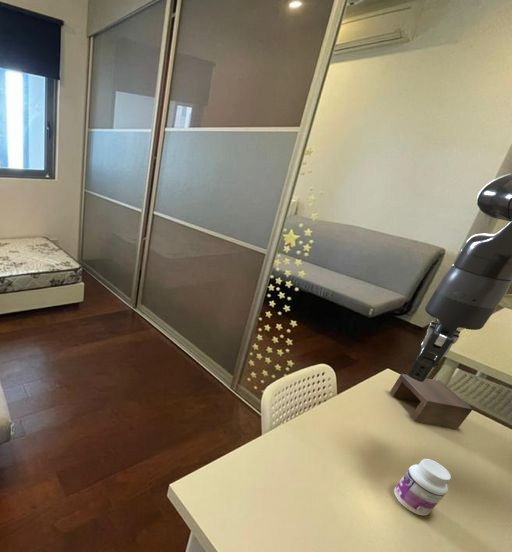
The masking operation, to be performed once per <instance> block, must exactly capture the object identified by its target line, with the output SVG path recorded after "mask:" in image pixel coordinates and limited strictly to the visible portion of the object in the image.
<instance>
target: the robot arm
mask: <svg viewBox="0 0 512 552" xmlns="http://www.w3.org/2000/svg"><path fill="white" fill-rule="evenodd" d="M476 206H477V207H478V209H479V211H480V212H481V213H483V215H486V216H488V217H491V218H493V219H497V220H501V221H505V222H509V223H508V224H507V225H505V227H503V228H502V229H501V230H499V231H497V232H496V233H478V234H473V235H472V236H470V237H469V238H468V239H467V240H466V242H465V243H464V245H463V246H462V247H461V250H460V252H459V253H458V255H457V257H456V258H455V260H454V262H453V264H452V265H451V267H450V268H449V269H448V270H447V271H446V272H445V273H444V275H443V277H442V278H441V280H440V281H439V283H438V284H437V287H436V288H435V290H434V291H433V293H432V295H431V296H430V299H429V300H428V301H427V303H426V305H425V307H424V311H425V312H426V313H427V314H428V315H429V316H430V317H432V318H435V319H437V320H436V321H433V320H431V322H430V324H429V325H428V327H427V329H426V331H425V334H424V338H423V339H422V341H421V343H420V345H419V347H420V350H419V351H418V353H417V355H416V357H415V362H414V363H413V365H412V367H411V368H410V370H409V372H408V374H407V375H408V376H409V377H411V378H413V379H415V380H417V381H419V382H423V381H424V380H425V378H427V377H428V375H429V374H430V372H431V371H432V369H436V367H438V366H439V363H440V362H441V360H442V358H444V357H446V356H447V355H448V353H449V351H450V350H451V348H452V346H453V345H455V344H456V343H457V342H458V340H459V338H460V334H461V330H458V329H466V330H471V331H477V330H481V329H483V328H484V326H485V325H486V323H487V322H488V321H489V319H490V318H491V316H492V315H493V313H494V312H495V311H496V309H497V307H498V306H499V305H500V303H501V302H502V301H503V299H504V297H505V296H506V295H507V293H508V290H509V289H510V286H511V284H512V173H508V174H505V175H502V176H499V177H497V178H494V179H493V180H492V181H490V182H489V183H487V184H486V185H485V186H484V187H483V188H482V189H481V190H480V191H479V192H478V194H477V197H476Z"/></svg>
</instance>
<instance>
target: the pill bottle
mask: <svg viewBox="0 0 512 552" xmlns="http://www.w3.org/2000/svg"><path fill="white" fill-rule="evenodd" d="M451 479H452V475H451V473H450V472H449V470H448V469H447V468H446V467H444V466H443V465H442V464H441V463H439V462H437V461H435V460H433V459H430V458H423V459H422V460H420V462H419V463H418V464H412V465H410V467H409V468H408V469H407V471H406V472H405V473H404V475H403V476H402V478H401V479H400V480H399V482H398V483H397V484H396V486H395V487H394V489H393V493H394V496H395V498H396V499H397V501H398V502H399V503H400V504H401V505H402V506H403V507H404V508H406V509H407V510H408V511H410V512H411V513H413V514H415V515H419V516H427V515H429V514H430V513H431V512H432V511H433V509H434V508H435V507H436V506H437V505H438V504H439V503H440V501H441V500H442V499H443V498H444V497H445V495H446V494H447V493H448V492H449V486H448V484H449V482H450V481H451Z"/></svg>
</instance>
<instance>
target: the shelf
mask: <svg viewBox="0 0 512 552" xmlns="http://www.w3.org/2000/svg"><path fill="white" fill-rule="evenodd" d="M389 395H390V396H391V397H393V398H397V399H401V400H407V401H413V402H418V403H419V404H418V405H417V407H416V408H415V410H414V411H413V412H412V414H411V415H410V419H411V420H412V421H413V423H414V422H415V423H420V424H425V425H430V426H436V427H441V428H445V429H451V430H456V431H457V430H458V429H459V428H460V427H461V426H462V424H463V423H464V422H465V420H466V419H467V418H468V417H469V415H470V414H471V413H472V411H473V410H474V409H473V408H472V407H471V406H470V405H469V404H468V403H466V402H465V401H464V400H463V399H462V398H461V397H460V396H459V395H458V394H456V393H455V391H452V389H450V387H448V386H447V385H446V384H445V383H444V382H442V380H438V379H432V378H427V377H426V378H425V380H424V381H423V382H419V381H417V380H415V379H413V378H411V377H409V376H408V374H403V373H400V375H399V376H398V377H397V379H396V381H395V383H394V384H393V386H392V388H391V389H390V391H389Z"/></svg>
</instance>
